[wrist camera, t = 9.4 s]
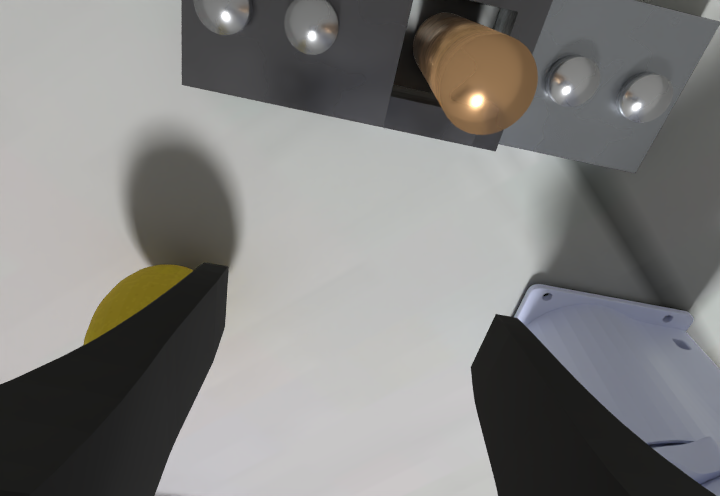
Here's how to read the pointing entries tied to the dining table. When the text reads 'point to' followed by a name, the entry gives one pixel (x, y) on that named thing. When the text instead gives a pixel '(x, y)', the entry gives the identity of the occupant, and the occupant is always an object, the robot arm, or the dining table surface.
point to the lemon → (133, 296)
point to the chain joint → (421, 109)
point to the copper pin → (475, 72)
